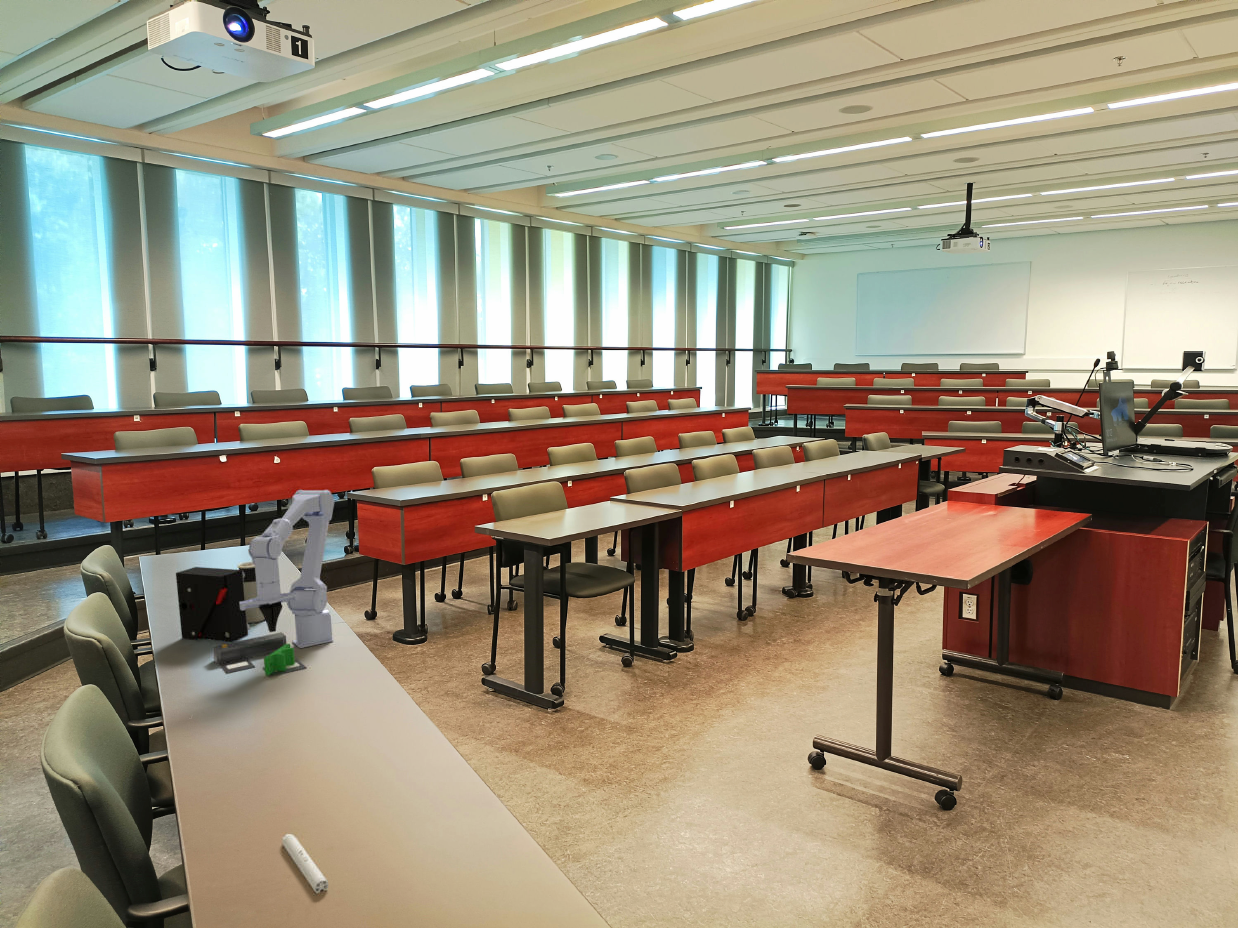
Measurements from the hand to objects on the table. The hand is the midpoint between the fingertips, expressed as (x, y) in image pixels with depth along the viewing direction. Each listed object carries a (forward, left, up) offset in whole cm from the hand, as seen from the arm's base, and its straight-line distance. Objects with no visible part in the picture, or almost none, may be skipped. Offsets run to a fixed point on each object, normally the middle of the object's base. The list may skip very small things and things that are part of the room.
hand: (272, 630), depth 223 cm
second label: (-1, +6, -9) cm, 11 cm away
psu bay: (+4, -11, -9) cm, 15 cm away
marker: (+21, +100, -10) cm, 102 cm away
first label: (+9, -4, -9) cm, 13 cm away
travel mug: (-5, -46, -9) cm, 47 cm away
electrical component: (+8, -36, -9) cm, 38 cm away
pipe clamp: (0, +6, -9) cm, 11 cm away
